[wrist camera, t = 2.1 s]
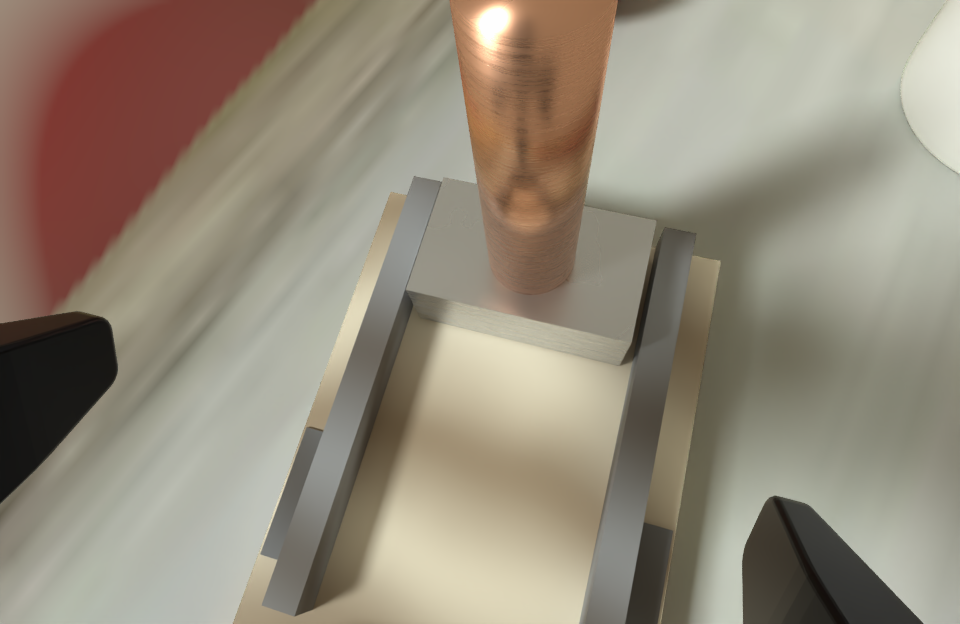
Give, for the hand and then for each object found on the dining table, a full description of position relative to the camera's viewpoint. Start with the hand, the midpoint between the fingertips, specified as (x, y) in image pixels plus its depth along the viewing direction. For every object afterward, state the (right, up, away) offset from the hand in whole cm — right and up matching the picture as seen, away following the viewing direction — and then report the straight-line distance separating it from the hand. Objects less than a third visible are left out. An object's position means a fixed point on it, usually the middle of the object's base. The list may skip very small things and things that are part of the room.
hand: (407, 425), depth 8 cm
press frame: (+1, -4, +12) cm, 13 cm away
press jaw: (+3, +2, +13) cm, 13 cm away
